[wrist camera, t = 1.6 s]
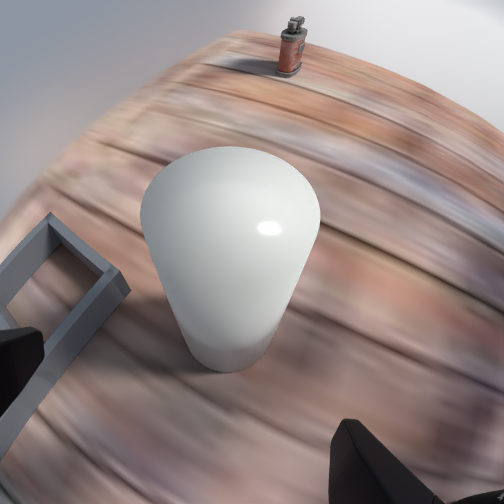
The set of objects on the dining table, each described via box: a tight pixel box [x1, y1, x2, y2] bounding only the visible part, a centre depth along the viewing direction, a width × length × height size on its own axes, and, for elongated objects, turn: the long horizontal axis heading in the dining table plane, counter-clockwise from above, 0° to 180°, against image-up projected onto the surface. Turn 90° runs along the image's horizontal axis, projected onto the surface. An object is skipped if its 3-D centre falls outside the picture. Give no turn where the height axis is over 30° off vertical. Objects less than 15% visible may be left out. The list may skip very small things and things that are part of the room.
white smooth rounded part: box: [140, 147, 320, 373], centre depth 16 cm, size 6×6×13 cm
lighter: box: [276, 16, 307, 78], centre depth 41 cm, size 8×3×10 cm, turn 157°
